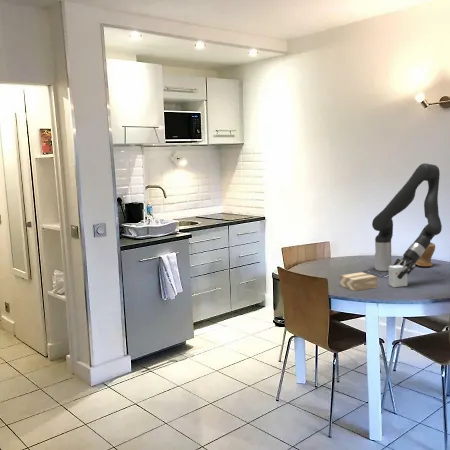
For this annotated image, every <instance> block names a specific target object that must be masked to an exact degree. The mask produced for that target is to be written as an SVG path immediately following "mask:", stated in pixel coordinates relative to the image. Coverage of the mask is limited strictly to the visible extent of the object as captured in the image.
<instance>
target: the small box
mask: <svg viewBox="0 0 450 450" xmlns="http://www.w3.org/2000/svg"><path fill="white" fill-rule="evenodd" d="M393 265H394V264H393ZM393 265H391V266H389V271H388V285H389V286H391V287H393V288H399V287H407V286H408V273H407V274H405V275H404V276H403V277H402V278H401V279H399V278H398V277H397V276H398V275H399V274H400V272H401V271H402V270H403V268H404V267H403V266H401V265H394V266H393ZM406 268H407V267H406ZM405 270H406V269H405Z"/></svg>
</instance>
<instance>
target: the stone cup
mask: <svg viewBox="0 0 450 450" xmlns="http://www.w3.org/2000/svg"><path fill="white" fill-rule="evenodd" d="M435 251H436V244H435V243H433V242H431V241H430V244H429V246H428V247H427V248H426V250H425V251H424V253H423V254H422V255H421V257H420V258H419V259H418V261H417V262H416V263H415V265H417V266H418V267H432V266H434V265H433V263H432V261H431V260H432V257H433V255H434V253H435Z"/></svg>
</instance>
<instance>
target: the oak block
mask: <svg viewBox="0 0 450 450" xmlns="http://www.w3.org/2000/svg"><path fill="white" fill-rule="evenodd" d="M340 285H341V287H342V288H346V289H348V290H350V291H353V292H357V291H363V290H369V289H376V288H378V276H376V275H372V274H369V273H365V272H362V271H359V272H353V273H345V274H339V286H340Z"/></svg>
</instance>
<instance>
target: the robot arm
mask: <svg viewBox="0 0 450 450" xmlns="http://www.w3.org/2000/svg"><path fill="white" fill-rule="evenodd" d="M440 175H441V174H440V169H439V167H438V166H437V165H435V164H432V163H431V164H430V163H421V164H419V166H418V167H416V169H415V170H414V172H413V173H412V175H411V176H410V178H409V179H408V180H407V181H406V182H405V184H404V185H403V186H402V188H400V189H399V191H398V192H397V193H396V194H395V196H394V197H393V198H392V199H391V200H390V201H389V202H388V204H387V205H386V206H385V207H384V208H383V210H381V211H380V212H379V213H378V214H377V215H376V216H375V217H374V218H373V220H372V222H371V223H372V225H371V227H372V228H373V229H374V231H377V232H378V234H377V235H376V236H375V237H374V238H375V239H374V243H375V244H374V245H375V247H374V248H375V249H374V250H375V252H374V269H375V270H376V271H379V272H389V266H394V265H401V266H403V267H404V268H403V270H402V271H401V272H400V274H399V275H398V276H397V277H398V278H399V279H401V278H402V277H403V276H404V275H405V274H407V275H409V274H410V273H411V272H412V271H413V270H414V269H415V268H416V267H417V266H416V264H415V263H416V262H417V261H418V259H419V258H420V257H421V255H422V254H423V253H424V251H425V250H426V248H427V247H428V246H429V244H430V242H431V241H432V240H433V238H434V237H435V236H438V235H439V234H441V232H442V230H443V229H442V228H443V226H442V222H441V218H440V215H439V202H438V201H439V186H440ZM424 181H425V182H426V181H427V185H428V189H427V193H426V196H425V199H424V201H423V202H424V203H423V209H424V210H423V211H424V218H426V219H427V224H426V225H425V226H424V228H422V230H421V232H420V233H419V235H418V236H417V237H416V239H415V240H414V241H413V242H412V243H411V244H410V246H409V247H408V248H407V250H405V251H404V253H403V255H402V256H403V257H402V258H401V259H400V258H397V259H396V260H395V262H394V263H393V265H392V239H393V235H394V234H393V233H394V221H393V218H394V217H395V216H397V215H398V214H400V213H402V212H403V211H405V210H406V209H407V208H408V207H409V206H410V204H411V203H412V202H413V201H414V199H415V197H416V191H417V189H418V187H420V185H421V184H422V183H423V182H424ZM406 267H407V268H406ZM405 269H406V270H405Z"/></svg>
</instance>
